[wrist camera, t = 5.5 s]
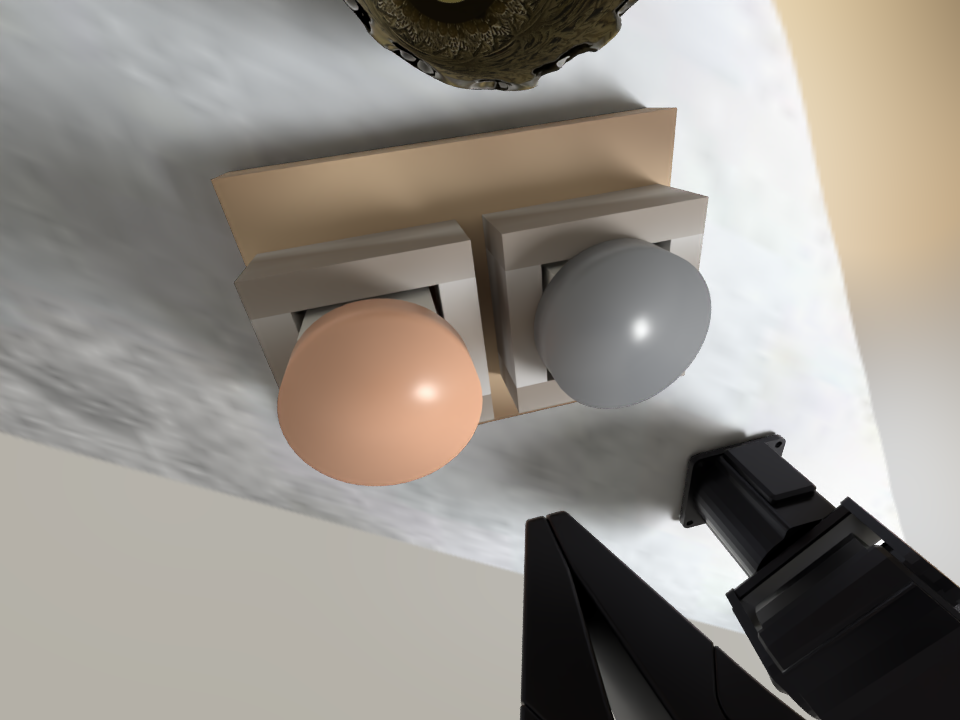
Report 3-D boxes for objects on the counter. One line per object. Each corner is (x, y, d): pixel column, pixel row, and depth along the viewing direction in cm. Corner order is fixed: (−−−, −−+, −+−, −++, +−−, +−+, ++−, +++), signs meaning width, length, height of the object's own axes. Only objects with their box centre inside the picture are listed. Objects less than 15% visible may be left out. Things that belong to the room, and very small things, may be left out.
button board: (631, 364, 24) (688, 420, 19) (328, 432, 22) (317, 510, 18) (647, 107, 18) (735, 107, 13) (228, 172, 16) (174, 195, 12)
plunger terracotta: (467, 388, 18) (492, 461, 14) (327, 418, 17) (315, 504, 14) (445, 253, 15) (468, 301, 11) (276, 284, 15) (242, 345, 11)
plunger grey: (637, 336, 20) (699, 389, 16) (517, 362, 19) (551, 424, 15) (646, 207, 17) (723, 235, 13) (505, 233, 16) (544, 269, 13)
